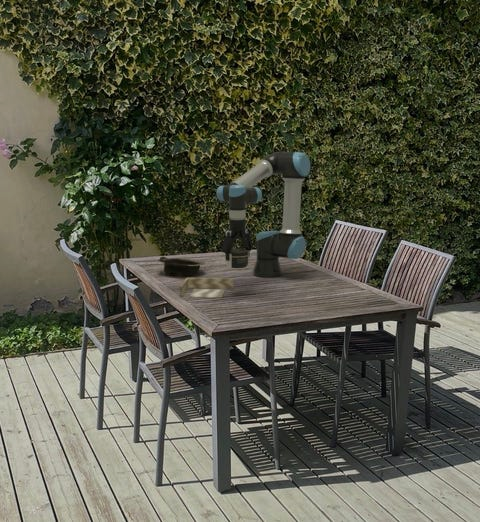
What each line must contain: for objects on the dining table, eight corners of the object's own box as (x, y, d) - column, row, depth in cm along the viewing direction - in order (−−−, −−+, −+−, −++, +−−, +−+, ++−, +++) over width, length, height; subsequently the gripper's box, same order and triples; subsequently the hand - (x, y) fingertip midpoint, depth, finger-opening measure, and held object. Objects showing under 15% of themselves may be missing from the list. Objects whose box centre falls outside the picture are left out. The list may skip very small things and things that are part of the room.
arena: (233, 288, 362) (233, 278, 361) (229, 298, 343) (229, 287, 342) (186, 287, 364) (186, 277, 363) (179, 297, 345) (179, 286, 344)
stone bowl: (151, 276, 387) (151, 259, 386) (171, 270, 411) (171, 254, 410) (194, 279, 379) (194, 261, 378) (213, 273, 402) (213, 256, 401)
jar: (223, 265, 351) (223, 249, 350) (242, 263, 356) (242, 247, 354) (232, 269, 343) (232, 253, 341) (252, 267, 347) (251, 251, 345)
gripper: (250, 215, 354) (250, 261, 359) (213, 220, 340) (214, 267, 345) (260, 217, 349) (260, 263, 353) (223, 222, 335) (224, 270, 339)
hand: (237, 265), depth 349 cm, fingers closed on jar, 10 cm apart
